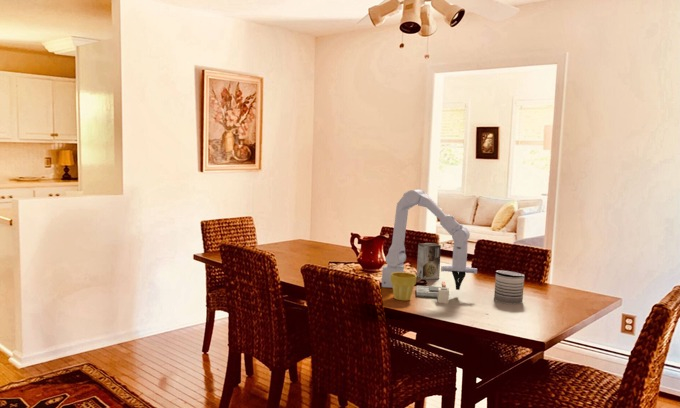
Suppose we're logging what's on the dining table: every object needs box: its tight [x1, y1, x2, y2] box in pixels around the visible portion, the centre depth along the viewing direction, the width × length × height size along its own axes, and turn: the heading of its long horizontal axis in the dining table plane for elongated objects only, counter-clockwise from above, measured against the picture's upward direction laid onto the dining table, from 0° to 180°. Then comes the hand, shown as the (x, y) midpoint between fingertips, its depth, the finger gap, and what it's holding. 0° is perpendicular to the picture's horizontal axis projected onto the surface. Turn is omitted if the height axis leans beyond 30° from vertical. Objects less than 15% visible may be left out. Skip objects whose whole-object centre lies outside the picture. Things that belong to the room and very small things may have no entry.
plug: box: [437, 286, 450, 304], centre depth 224 cm, size 4×4×6 cm
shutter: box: [428, 281, 447, 292], centre depth 234 cm, size 6×6×3 cm
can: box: [493, 269, 525, 305], centre depth 230 cm, size 11×11×12 cm
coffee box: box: [416, 242, 442, 280], centre depth 264 cm, size 9×6×16 cm
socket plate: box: [415, 285, 438, 299], centre depth 235 cm, size 12×11×2 cm
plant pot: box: [391, 271, 418, 301], centre depth 226 cm, size 10×10×10 cm
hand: (457, 289), depth 233 cm, fingers closed
